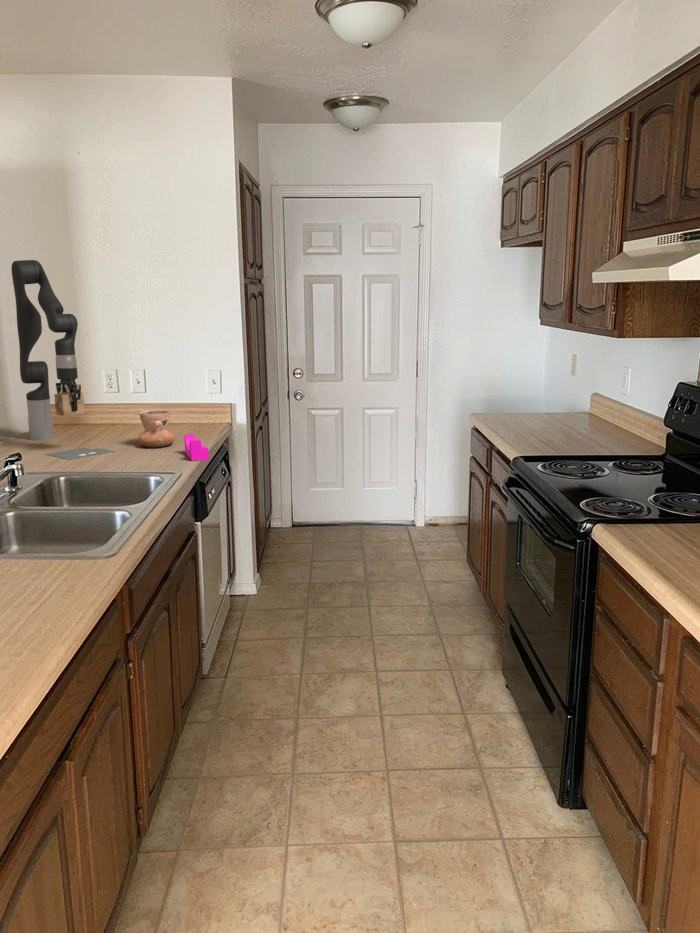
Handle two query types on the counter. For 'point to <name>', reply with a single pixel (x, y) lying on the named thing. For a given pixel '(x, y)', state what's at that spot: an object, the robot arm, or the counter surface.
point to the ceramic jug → (155, 429)
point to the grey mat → (79, 453)
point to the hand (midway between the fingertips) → (70, 409)
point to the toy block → (195, 448)
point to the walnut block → (67, 405)
